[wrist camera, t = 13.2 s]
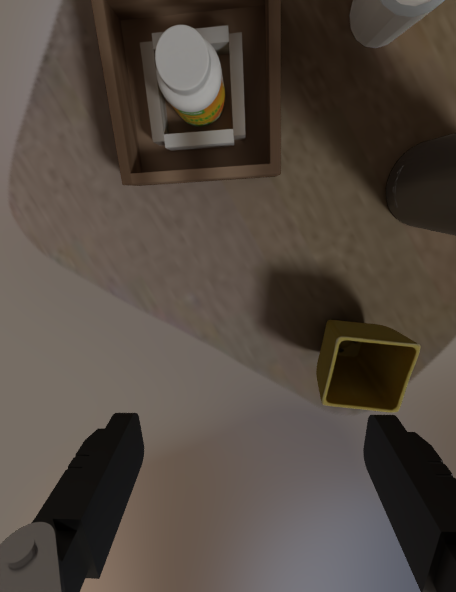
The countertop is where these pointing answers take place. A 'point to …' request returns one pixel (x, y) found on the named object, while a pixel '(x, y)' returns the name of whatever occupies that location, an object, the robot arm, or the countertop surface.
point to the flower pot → (364, 366)
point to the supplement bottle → (190, 75)
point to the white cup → (386, 19)
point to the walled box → (162, 116)
